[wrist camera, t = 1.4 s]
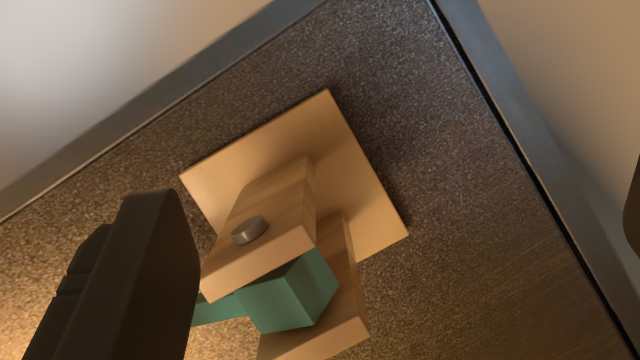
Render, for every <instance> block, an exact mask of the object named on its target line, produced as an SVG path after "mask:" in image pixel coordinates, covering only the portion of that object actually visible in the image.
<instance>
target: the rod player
mask: <svg viewBox="0 0 640 360" xmlns="http://www.w3.org/2000/svg"><path fill="white" fill-rule="evenodd" d="M339 286H340V284H339V283H338V281H337V279H336V278H335V276H334V274H333V273H332V271H331V270H330V268H329V266H328V265H327V263H326V261H325V260H324V258H323V257H322V255H321V253H320V252H319V250H318V248H317V247H316V246H315V247H314V248H313V249H311V250H309V251H307V252H305V253H303V254H302V255H300V256H298V257H296V258H294V259H292V260H290V261H289V262H287V263H285V264H283V265H281V266H279V267H278V268H276V269H274V270H272V271H270V272H268V273H266V274H265V275H263V276H261V277H259V278H257V279H255V280H254V281H252V282H250V283H248V284H246V285H244V286H242V287H241V288H239V289H237V290H235V291H233V292H231V293H230V294H228V295H226V296H224V297H222V298H220V299H218V300H217V301H215V302H213V303H211V304H209V303H208V301H207V300H206V298H205V297H204V295H203V294H202V293H198V295H197V300H196V305H195V309H194V314H193V318H192V323H191V327H195V326H199V325H204V324H209V323H213V322H218V321H222V320H227V319H232V318H236V317H241V316H246V315H248V316H249V317H250V319H251V320H252V322H253V323H254V325H255V326H256V328H257V329H258V331H259V332H260V334H267V333H273V332H278V331H284V330H289V329H295V328H300V327H306V326H312V325H314V324H315V323H316V321H317V320H318V318H319V317H320V315H321V314H322V312H323V310H324V309H325V307H326V306H327V304H328V303H329V301H330V300H331V298H332V296H333V295H334V293H335V292H336V290H337V289H338V287H339Z"/></svg>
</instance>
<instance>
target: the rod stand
mask: <svg viewBox="0 0 640 360" xmlns="http://www.w3.org/2000/svg"><path fill="white" fill-rule="evenodd" d="M179 178H180V179H181V181H182V182H183V184H184V185H185V187H186V188H187V190H188V191H189V193H190V194H191V196H192V197H193V199H194V200H195V202H196V203H197V205H198V206H199V208H200V210H201V211H202V213H203V214H204V216H205V217H206V219H207V220H208V222H209V223H210V225H211V226H212V228H213V229H214V231H215V232H216V234H217V235H218V238H217V240H216V242H215V244H214V246H213V248H212V250H211V252H210V254H209V256H208V258H207V260H206V261H205V263H204V265H203V267H202V269H201V271H200V272H201V276H200V286H199V290H200V291H201V293H202V294H203V295H204V297H205V298H206V300H207V301H208V303H209V304H211V303H213V302H215V301H217V300H218V299H220V298H222V297H224V296H226V295H228V294H230V293H231V292H233V291H235V290H237V289H239V288H241V287H242V286H244V285H246V284H248V283H250V282H252V281H254V280H255V279H257V278H259V277H261V276H263V275H265V274H266V273H268V272H270V271H272V270H274V269H276V268H278V267H279V266H281V265H283V264H285V263H287V262H289V261H290V260H292V259H294V258H296V257H298V256H300V255H302V254H303V253H305V252H307V251H309V250H311V249H313V248H314V247H315V246H316V247H317V248H318V250H319V252H320V253H321V255H322V257H323V258H324V260H325V261H326V263H327V265H328V266H329V268H330V270H331V271H332V273H333V274H334V276H335V278H336V279H337V281H338V283H339V284H340V286H339V287H338V289H337V290H336V292H335V293H334V295H333V296H332V298H331V300H330V301H329V303H328V304H327V306H326V307H325V309H324V310H323V312H322V314H321V315H320V317H319V318H318V320H317V321H316V323H315V324H314V325H312V326H306V327H300V328H295V329H289V330H284V331H278V332H273V333H267V334H261V336H260V341H259V347H258V352H257V358H256V360H326V359H328V358H330V357H332V356H334V355H336V354H338V353H340V352H342V351H344V350H345V349H347V348H349V347H351V346H353V345H355V344H357V343H359V342H361V341H363V340H365V339H367V338H369V337H370V336H371V333H370V328H369V323H368V318H367V313H366V308H365V303H364V298H363V293H362V288H361V283H360V278H359V273H358V268H357V262H359V261H361V260H363V259H365V258H367V257H369V256H371V255H373V254H374V253H376V252H378V251H380V250H382V249H384V248H386V247H388V246H389V245H391V244H393V243H395V242H397V241H399V240H401V239H403V238H404V237H406V236H408V235H409V232H408V230H407V228H406V227H405V225H404V223H403V221H402V220H401V218H400V216H399V214H398V212H397V211H396V209H395V207H394V205H393V203H392V202H391V200H390V198H389V196H388V195H387V193H386V191H385V189H384V187H383V186H382V184H381V182H380V180H379V179H378V177H377V175H376V173H375V171H374V170H373V168H372V166H371V164H370V163H369V161H368V159H367V157H366V155H365V154H364V152H363V150H362V148H361V147H360V145H359V143H358V141H357V139H356V138H355V136H354V134H353V132H352V130H351V129H350V127H349V125H348V123H347V122H346V120H345V118H344V116H343V114H342V113H341V111H340V109H339V107H338V106H337V104H336V102H335V100H334V98H333V97H332V95H331V93H330V91H329V90H328V88H325V89H323V90H322V91H320V92H318V93H316V94H315V95H313V96H311V97H310V98H308V99H306V100H304V101H303V102H301V103H299V104H297V105H296V106H294V107H292V108H291V109H289V110H287V111H285V112H284V113H282V114H280V115H278V116H277V117H275V118H273V119H272V120H270V121H268V122H266V123H265V124H263V125H261V126H260V127H258V128H256V129H254V130H253V131H251V132H249V133H247V134H246V135H244V136H242V137H241V138H239V139H237V140H235V141H234V142H232V143H230V144H228V145H227V146H225V147H223V148H222V149H220V150H218V151H216V152H215V153H213V154H211V155H209V156H208V157H206V158H204V159H203V160H201V161H199V162H197V163H196V164H194V165H192V166H190V167H189V168H187V169H185V170H184V171H182V172H181V173H180V174H179Z"/></svg>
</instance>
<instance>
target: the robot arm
mask: <svg viewBox="0 0 640 360" xmlns="http://www.w3.org/2000/svg"><path fill="white" fill-rule="evenodd" d="M623 227H624V232H625V235H626V238H627V241H628V242H629V244H630V246H631V248H632V249H633V250H634V252H635V253H636V254H637V256H638V257H639V259H640V155H639V159H638V162H637V166H636V169H635V173H634V176H633V179H632V183H631V186H630V190H629V193H628V196H627V200H626V203H625V206H624V210H623ZM200 276H201V272H200V260H199V255H198V251H197V248H196V245H195V242H194V239H193V236H192V233H191V231H190V228H189V225H188V222H187V219H186V216H185V213H184V210H183V207H182V205H181V202H180V199H179V196H178V194H177V193H176V191H175V190H174V189H172V188H170V189H161V190H151V191H142V192H132V193H129V194H127V195H126V197H125V199H124V201H123V203H122V205H121V207H120V210H119V212H118V214H117V216H116V218H115V221H114V223H112V224H102V225H100V226H99V227H98V228H97V229H96V230H95V231H94V232H93V233H92V234H91V235H90V236H89V237H88V238H87V239H86V240H85V241H84V242H83V243H82V244H81V245H80V246H79V247H78V249H77V251H76V253H75V255H74V257H73V259H72V261H71V263H70V265H69V267H68V269H67V276H64V277H63V279H62V281H61V283H60V285H59V287H58V289H57V291H56V293H57V295H56V297H53V299H52V301H51V303H50V305H49V306H48V308H47V310H46V312H45V314H44V316H43V318H42V320H41V322H40V324H39V326H38V328H37V330H36V332H35V334H34V336H33V338H32V340H31V342H30V344H29V346H28V348H27V350H26V352H25V354H24V356H23V358H22V360H183V359H184V355H185V350H186V346H187V341H188V337H189V332H190V327H191V323H192V318H193V314H194V309H195V305H196V300H197V295H198V291H199V286H200Z"/></svg>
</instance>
